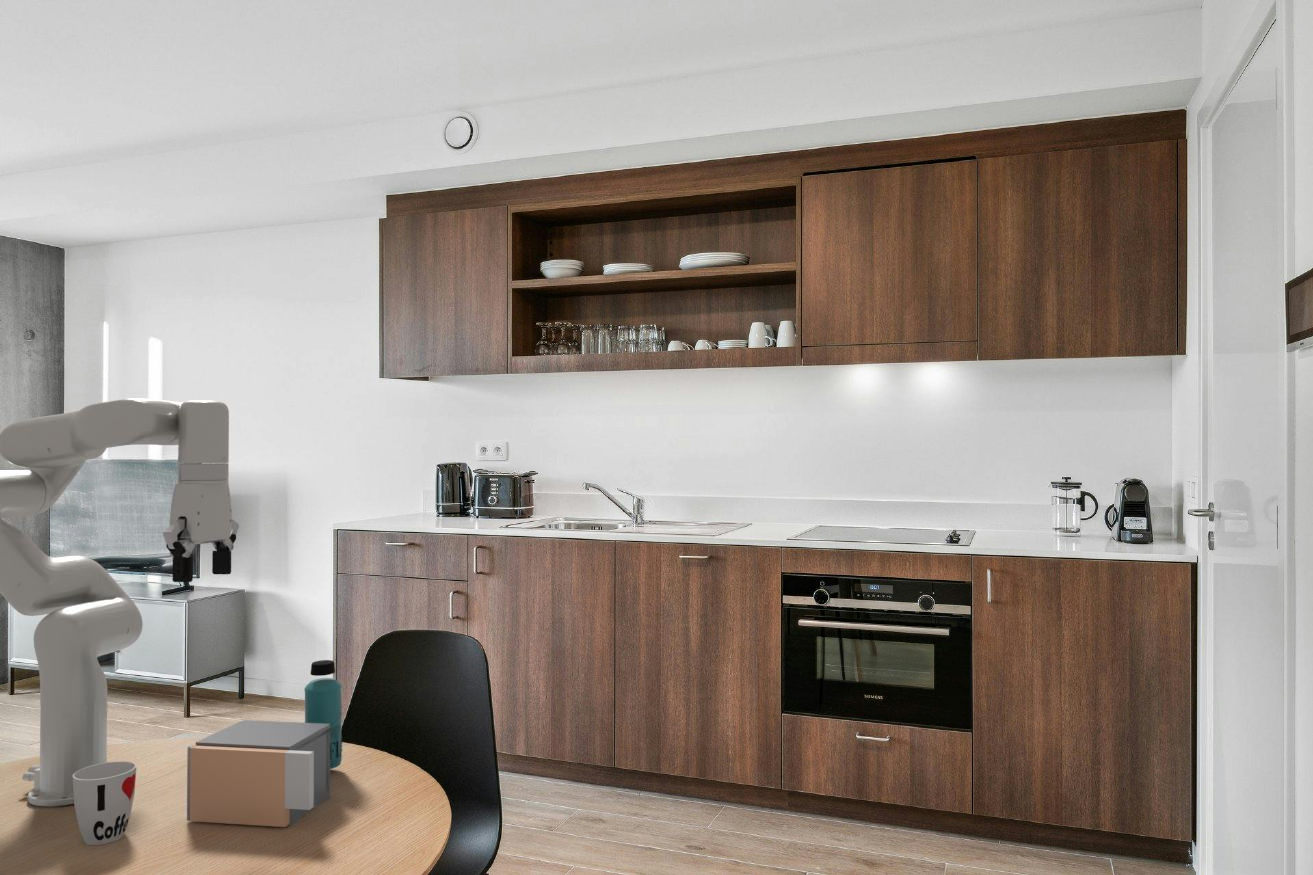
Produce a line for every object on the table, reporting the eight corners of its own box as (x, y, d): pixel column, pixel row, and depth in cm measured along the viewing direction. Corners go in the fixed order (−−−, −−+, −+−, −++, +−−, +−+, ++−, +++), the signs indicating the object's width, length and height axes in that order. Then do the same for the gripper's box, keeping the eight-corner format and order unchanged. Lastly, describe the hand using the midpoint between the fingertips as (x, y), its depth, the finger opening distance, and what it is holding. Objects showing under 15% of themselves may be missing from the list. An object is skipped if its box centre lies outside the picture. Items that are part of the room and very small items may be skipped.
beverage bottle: (329, 780, 155) (329, 666, 155) (295, 778, 156) (295, 664, 156) (349, 768, 161) (349, 657, 162) (316, 765, 162) (317, 656, 163)
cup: (89, 854, 126) (89, 783, 126) (61, 841, 130) (61, 773, 131) (146, 833, 133) (147, 766, 133) (118, 822, 137) (119, 757, 138)
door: (185, 820, 137) (185, 747, 137) (190, 817, 138) (190, 745, 138) (309, 828, 134) (309, 753, 134) (313, 825, 135) (313, 751, 135)
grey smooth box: (195, 819, 138) (195, 742, 139) (242, 790, 150) (243, 719, 150) (289, 825, 136) (289, 746, 136) (330, 796, 148) (330, 723, 148)
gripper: (216, 474, 156) (216, 571, 156) (145, 475, 139) (144, 584, 139) (255, 474, 155) (255, 571, 155) (188, 475, 138) (187, 585, 138)
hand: (202, 577), depth 147 cm, fingers open, 9 cm apart
